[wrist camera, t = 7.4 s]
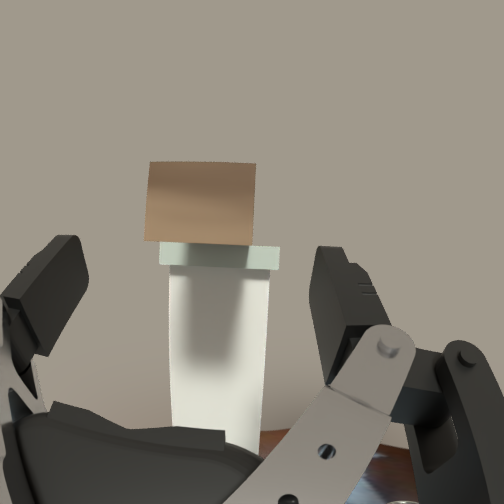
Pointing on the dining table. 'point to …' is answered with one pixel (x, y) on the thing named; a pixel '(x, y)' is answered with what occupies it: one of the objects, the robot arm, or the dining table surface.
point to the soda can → (403, 502)
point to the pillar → (218, 336)
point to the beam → (200, 203)
